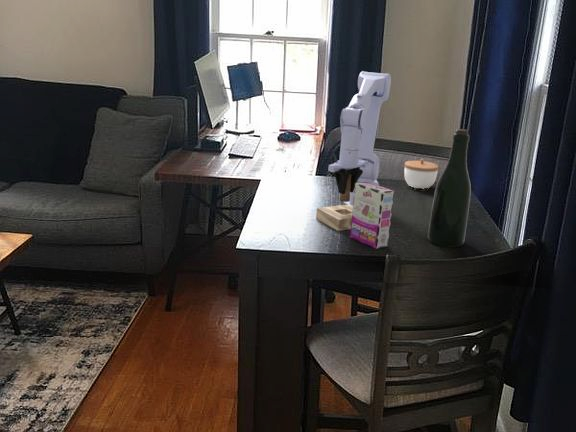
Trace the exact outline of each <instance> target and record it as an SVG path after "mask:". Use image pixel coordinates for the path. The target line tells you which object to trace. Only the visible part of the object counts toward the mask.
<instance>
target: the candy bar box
mask: <svg viewBox="0 0 576 432" xmlns="http://www.w3.org/2000/svg"><path fill="white" fill-rule="evenodd" d="M394 196H395V190H393V189H390V188H387V187H384V186H380V185H379V186H378V185H375V184H372V183H369V182H361V183H355V192H354V201H353V211H352V221H351V229H350V233H349V238H350V239H353V240H355V241H357V242H360V243H362V244H364V245H367V246H369V247H371V248H373V249H375V250H376V249H377V250H378V249H382V248H383V249H384V248H386V247H389V246H388V245H389V239H390V231H391V221H392V215H393V206H394Z"/></svg>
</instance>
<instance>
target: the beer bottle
mask: <svg viewBox="0 0 576 432" xmlns="http://www.w3.org/2000/svg"><path fill="white" fill-rule="evenodd" d="M469 142H470V135H469V130H467V129H464V128H463V129H462V128H457V129H455V133H453V135H452V142H451V143H452V145H451V149H450V154H449V157H448V161H447V162H446V165H445V167H444V169H443V171H442V173H441V175H440V176H439V179H438V180H437V184H436V185H435V186H436V187H435V190H434V194H433V195H434V196H433V201H432V205H431V212H430V213H431V214H430V217H429V218H430V219H429V224H428V232H427V239H428V241H430V242H431V243H433V244H434V245H437V246H441V247H448V248H456V247H457V248H458V247H460V246H462V245H463V244H464V243H465V238H466V232H467V227H468V226H467V225H468V218H469V212H470V204H471V193H472V189H471V188H472V187H471V186H472V185H471V181H470V176H469V171H468V166H467V165H468V163H467V160H468V159H467V156H468V155H467V154H468V147H469V145H468V144H469Z"/></svg>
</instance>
